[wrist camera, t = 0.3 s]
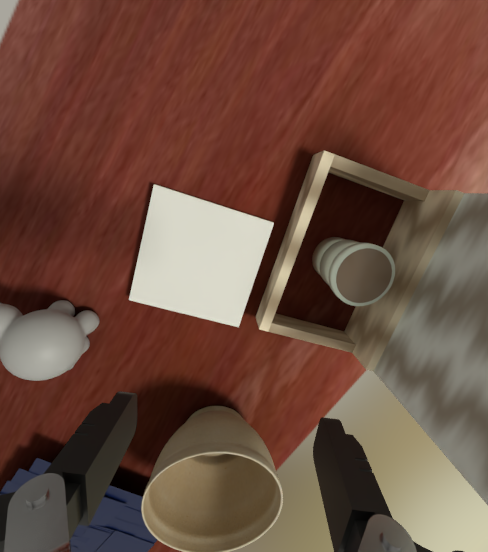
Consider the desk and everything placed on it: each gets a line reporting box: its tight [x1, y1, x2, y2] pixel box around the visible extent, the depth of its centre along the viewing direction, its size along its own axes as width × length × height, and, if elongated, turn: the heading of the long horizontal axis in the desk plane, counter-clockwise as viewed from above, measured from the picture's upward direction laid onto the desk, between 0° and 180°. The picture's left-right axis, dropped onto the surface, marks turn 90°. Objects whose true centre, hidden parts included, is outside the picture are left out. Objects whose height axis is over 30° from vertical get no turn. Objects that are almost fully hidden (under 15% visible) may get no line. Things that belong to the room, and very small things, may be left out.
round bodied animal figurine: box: [0, 300, 99, 381], centre depth 30 cm, size 8×12×9 cm, turn 58°
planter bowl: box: [141, 406, 283, 552], centre depth 36 cm, size 16×16×11 cm
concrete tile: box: [129, 184, 274, 327], centre depth 33 cm, size 14×14×1 cm
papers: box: [0, 458, 157, 552], centre depth 43 cm, size 24×30×4 cm
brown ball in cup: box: [312, 237, 395, 306], centre depth 31 cm, size 6×6×8 cm
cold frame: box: [256, 150, 488, 505], centre depth 23 cm, size 21×14×24 cm
